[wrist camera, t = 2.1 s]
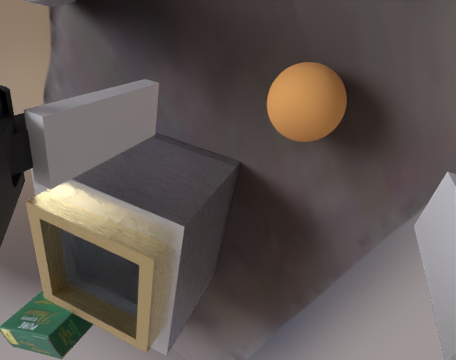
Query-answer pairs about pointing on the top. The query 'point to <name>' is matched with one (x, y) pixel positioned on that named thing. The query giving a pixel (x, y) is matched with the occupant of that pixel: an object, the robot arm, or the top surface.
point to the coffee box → (44, 328)
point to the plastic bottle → (52, 2)
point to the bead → (306, 101)
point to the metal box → (135, 238)
